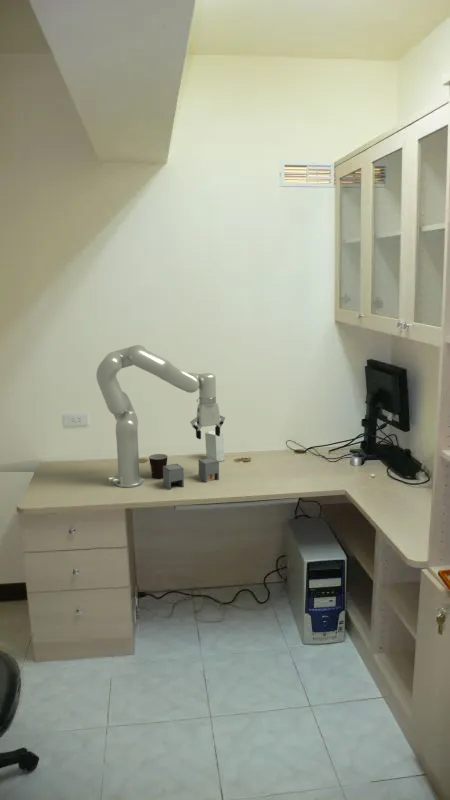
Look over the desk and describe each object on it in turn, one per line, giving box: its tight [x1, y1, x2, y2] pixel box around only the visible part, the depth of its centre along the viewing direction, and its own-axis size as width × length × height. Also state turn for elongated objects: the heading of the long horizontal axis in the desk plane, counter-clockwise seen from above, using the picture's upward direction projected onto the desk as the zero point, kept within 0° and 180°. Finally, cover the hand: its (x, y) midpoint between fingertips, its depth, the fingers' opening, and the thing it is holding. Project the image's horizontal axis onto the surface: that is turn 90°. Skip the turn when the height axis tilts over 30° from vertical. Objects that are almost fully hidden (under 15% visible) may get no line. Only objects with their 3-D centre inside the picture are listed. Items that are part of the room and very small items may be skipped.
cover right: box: [198, 457, 220, 483], centre depth 270 cm, size 7×7×9 cm
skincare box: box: [204, 430, 226, 463], centre depth 298 cm, size 8×6×15 cm
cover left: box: [162, 463, 185, 491], centre depth 262 cm, size 7×7×9 cm
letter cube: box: [207, 474, 216, 482], centre depth 271 cm, size 4×4×4 cm
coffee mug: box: [148, 453, 168, 480], centre depth 275 cm, size 12×9×10 cm
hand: (208, 437), depth 267 cm, fingers open, 9 cm apart
